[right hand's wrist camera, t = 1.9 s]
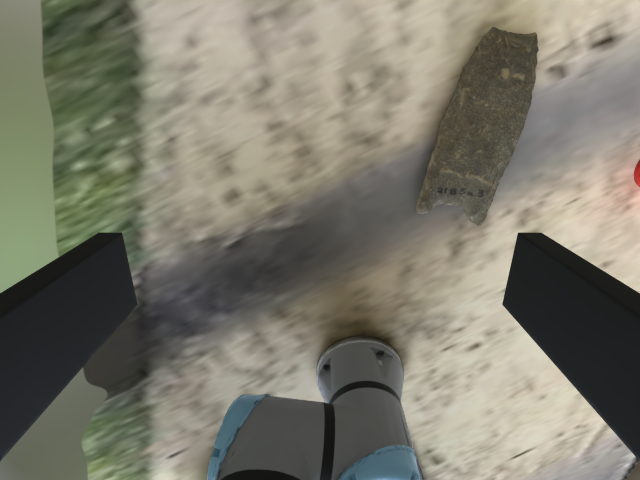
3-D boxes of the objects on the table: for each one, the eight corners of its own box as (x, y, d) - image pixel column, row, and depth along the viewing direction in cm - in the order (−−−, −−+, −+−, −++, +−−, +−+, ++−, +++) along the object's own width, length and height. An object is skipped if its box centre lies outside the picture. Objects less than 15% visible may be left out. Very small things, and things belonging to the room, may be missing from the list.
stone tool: (480, 224, 54) (551, 38, 45) (488, 231, 52) (565, 35, 42) (410, 211, 53) (467, 19, 44) (414, 217, 51) (476, 15, 42)
